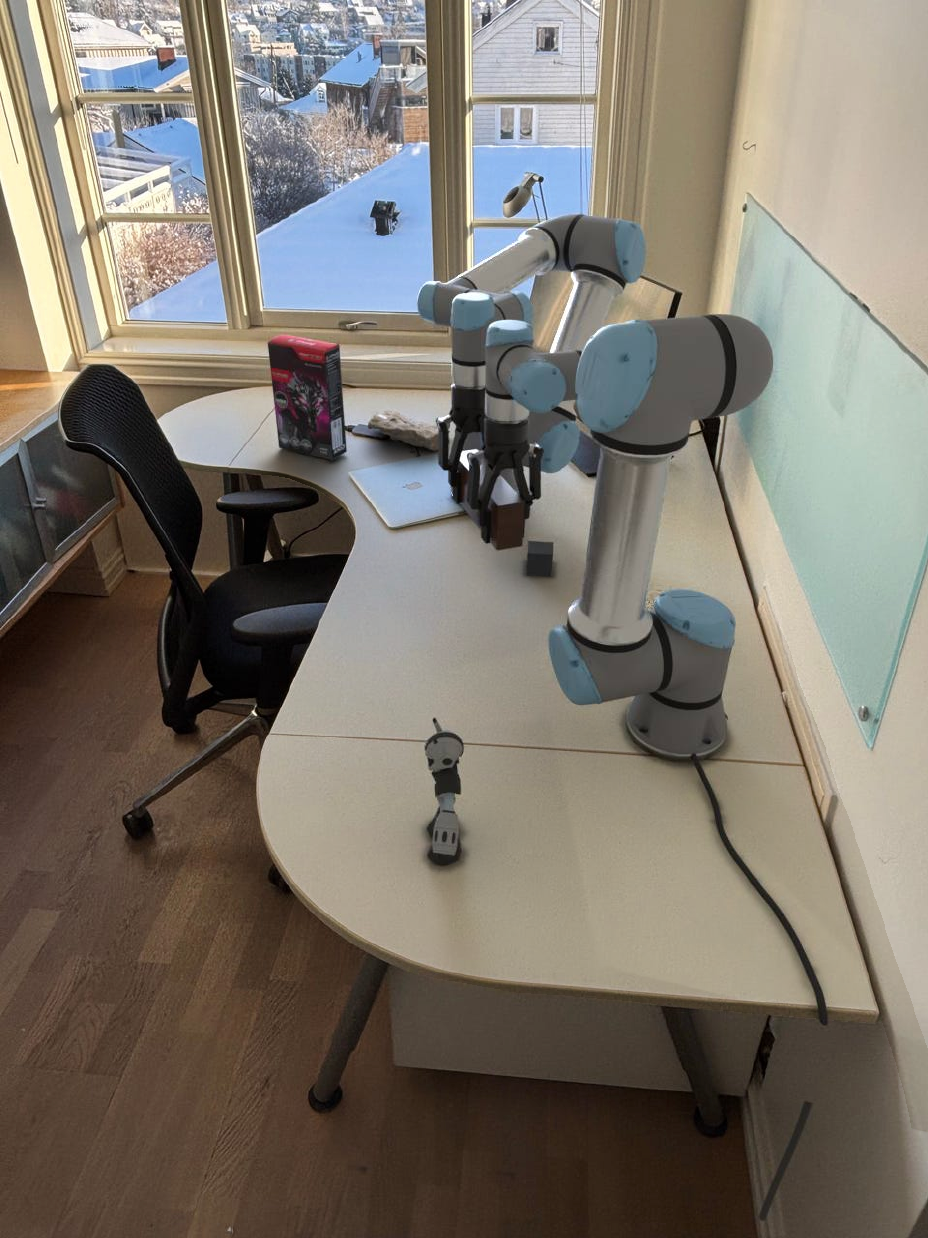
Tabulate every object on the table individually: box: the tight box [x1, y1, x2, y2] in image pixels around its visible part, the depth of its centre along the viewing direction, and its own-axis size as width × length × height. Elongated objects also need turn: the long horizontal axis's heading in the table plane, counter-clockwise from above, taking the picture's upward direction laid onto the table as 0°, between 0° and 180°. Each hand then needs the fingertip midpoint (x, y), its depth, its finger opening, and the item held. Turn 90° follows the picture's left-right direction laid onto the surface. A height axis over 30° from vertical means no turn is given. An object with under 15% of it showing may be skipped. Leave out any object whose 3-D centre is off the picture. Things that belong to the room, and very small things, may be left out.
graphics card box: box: [267, 333, 348, 461], centre depth 223 cm, size 17×7×27 cm, turn 62°
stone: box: [367, 410, 451, 451], centre depth 235 cm, size 21×15×6 cm
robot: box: [423, 717, 465, 867], centre depth 118 cm, size 20×5×20 cm, turn 3°
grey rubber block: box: [525, 540, 555, 577], centre depth 182 cm, size 5×5×5 cm
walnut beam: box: [458, 449, 524, 551], centre depth 172 cm, size 24×5×9 cm, turn 20°
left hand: (470, 497), depth 181 cm, fingers closed on walnut beam, 5 cm apart
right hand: (502, 537), depth 168 cm, fingers open, 6 cm apart
